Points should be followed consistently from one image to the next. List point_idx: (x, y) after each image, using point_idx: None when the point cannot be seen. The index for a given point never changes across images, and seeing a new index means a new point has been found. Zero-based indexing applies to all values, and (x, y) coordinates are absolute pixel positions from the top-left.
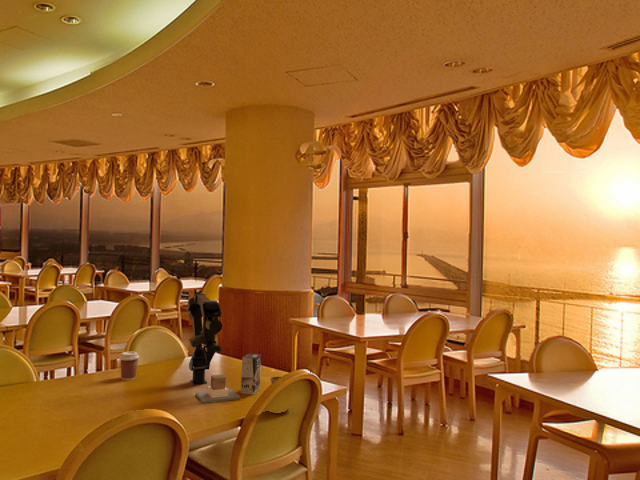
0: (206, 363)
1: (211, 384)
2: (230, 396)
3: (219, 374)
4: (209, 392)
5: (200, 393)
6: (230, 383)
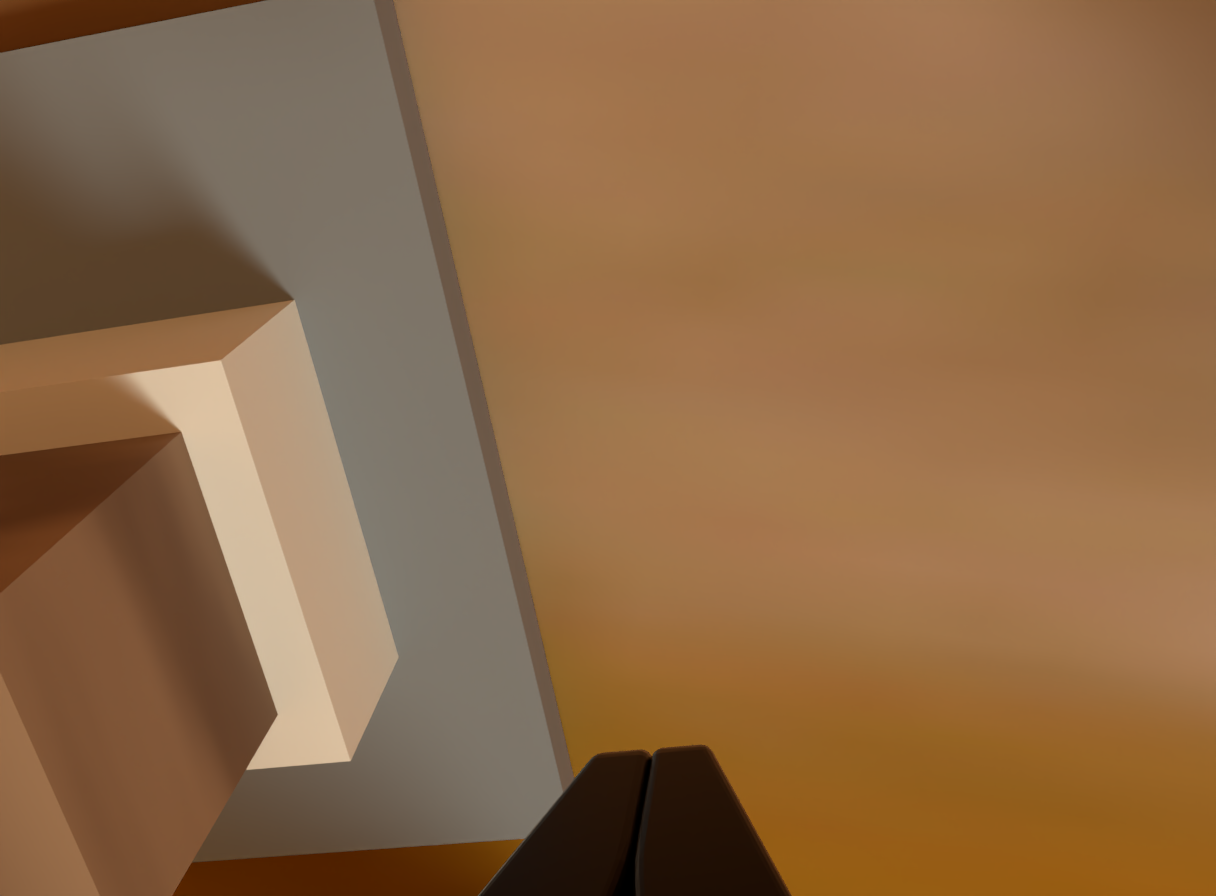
0: (699, 753)
1: (54, 479)
2: None
3: (94, 885)
4: (96, 347)
5: (292, 113)
6: (1203, 889)
